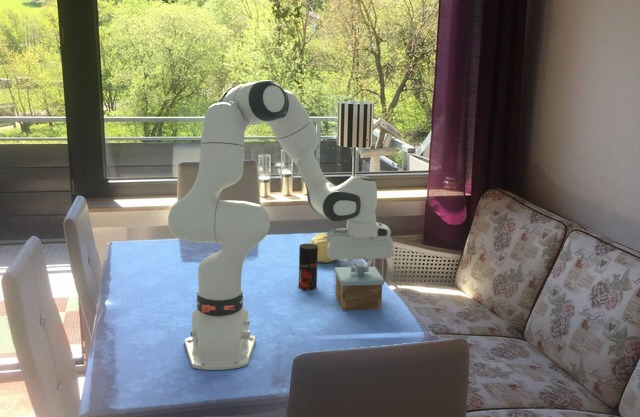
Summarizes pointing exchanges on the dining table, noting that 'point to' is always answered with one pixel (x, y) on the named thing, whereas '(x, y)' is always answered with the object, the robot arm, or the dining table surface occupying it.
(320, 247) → the sculpture
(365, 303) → the box
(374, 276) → the lid
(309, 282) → the deodorant
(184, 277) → the dining table surface
